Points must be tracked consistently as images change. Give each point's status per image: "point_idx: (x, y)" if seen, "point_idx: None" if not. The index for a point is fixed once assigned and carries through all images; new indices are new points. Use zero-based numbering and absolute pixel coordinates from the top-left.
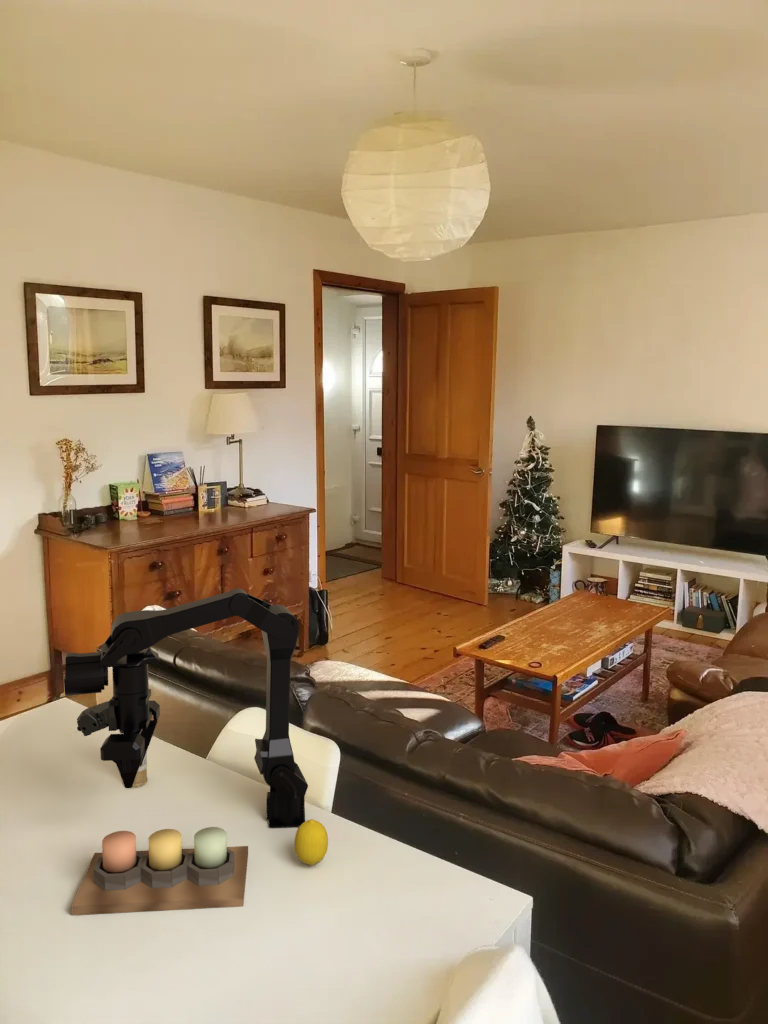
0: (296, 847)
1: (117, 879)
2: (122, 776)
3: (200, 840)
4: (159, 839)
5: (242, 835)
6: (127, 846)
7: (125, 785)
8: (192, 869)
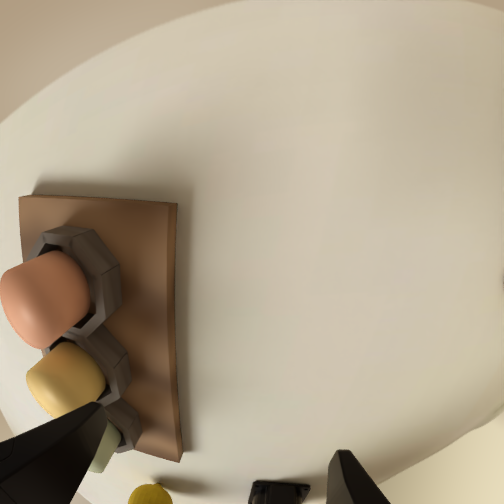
0: (137, 495)
1: None
2: (37, 432)
3: None
4: (43, 388)
5: (241, 457)
6: (13, 325)
7: (83, 410)
8: None
